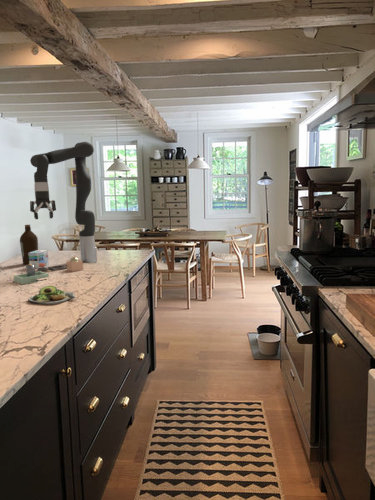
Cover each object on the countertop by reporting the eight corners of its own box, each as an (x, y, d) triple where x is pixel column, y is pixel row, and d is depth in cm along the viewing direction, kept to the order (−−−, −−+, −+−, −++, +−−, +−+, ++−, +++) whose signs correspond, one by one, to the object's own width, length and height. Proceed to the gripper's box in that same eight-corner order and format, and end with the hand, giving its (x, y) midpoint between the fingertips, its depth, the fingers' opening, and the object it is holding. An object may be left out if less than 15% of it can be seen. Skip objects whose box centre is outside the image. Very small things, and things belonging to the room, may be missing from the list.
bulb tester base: (61, 268, 230) (61, 263, 229) (70, 270, 223) (69, 265, 222) (31, 273, 217) (31, 268, 217) (39, 276, 210) (39, 270, 210)
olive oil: (39, 261, 256) (36, 223, 252) (40, 264, 246) (36, 225, 242) (21, 262, 252) (18, 224, 248) (21, 265, 242) (18, 226, 238)
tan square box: (77, 270, 223) (76, 259, 222) (83, 272, 219) (82, 260, 218) (67, 272, 219) (66, 260, 218) (72, 274, 214) (72, 262, 213)
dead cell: (78, 270, 221) (77, 256, 220) (79, 271, 218) (78, 257, 216) (70, 270, 220) (69, 256, 218) (72, 272, 216) (71, 258, 215)
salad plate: (87, 296, 170) (86, 286, 170) (59, 308, 154) (58, 297, 153) (52, 292, 178) (51, 282, 177) (22, 303, 162) (21, 292, 161)
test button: (43, 265, 218) (43, 262, 218) (46, 266, 216) (45, 263, 216) (38, 266, 216) (37, 263, 216) (40, 267, 214) (40, 264, 213)
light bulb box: (39, 271, 225) (38, 252, 223) (29, 270, 226) (27, 252, 224) (49, 267, 235) (48, 249, 233) (39, 267, 236) (38, 249, 235)
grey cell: (33, 278, 204) (31, 263, 203) (36, 279, 201) (35, 263, 200) (26, 279, 201) (24, 264, 200) (29, 280, 198) (27, 265, 197)
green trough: (40, 276, 210) (40, 271, 209) (48, 279, 203) (48, 273, 202) (14, 281, 200) (13, 275, 199) (22, 284, 193) (21, 278, 192)
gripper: (32, 190, 212) (34, 220, 215) (56, 190, 222) (58, 218, 225) (26, 190, 217) (29, 219, 220) (50, 190, 227) (52, 217, 230)
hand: (44, 218), depth 222 cm, fingers open, 8 cm apart
